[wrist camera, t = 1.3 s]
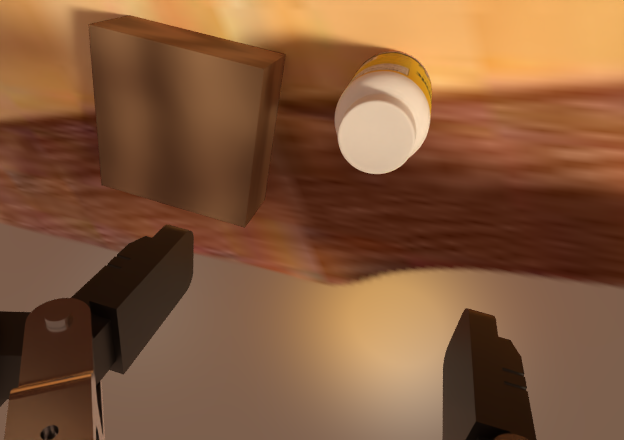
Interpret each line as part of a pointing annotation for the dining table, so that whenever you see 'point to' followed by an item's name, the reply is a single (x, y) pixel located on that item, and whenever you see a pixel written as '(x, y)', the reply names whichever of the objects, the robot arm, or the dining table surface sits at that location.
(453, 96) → the dining table surface
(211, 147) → the walnut plinth block
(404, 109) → the supplement bottle
